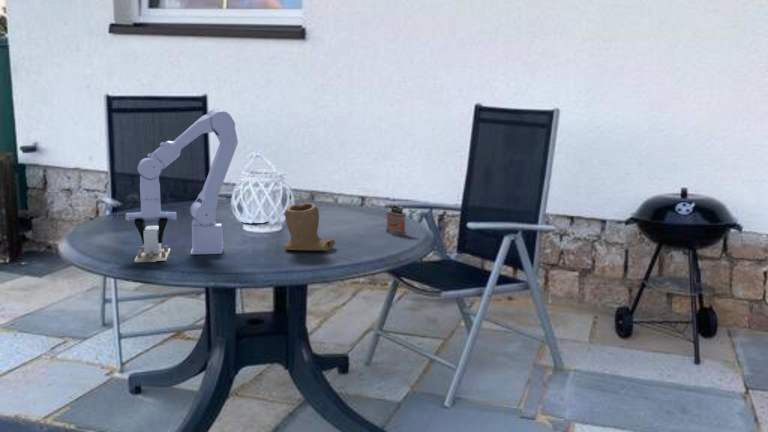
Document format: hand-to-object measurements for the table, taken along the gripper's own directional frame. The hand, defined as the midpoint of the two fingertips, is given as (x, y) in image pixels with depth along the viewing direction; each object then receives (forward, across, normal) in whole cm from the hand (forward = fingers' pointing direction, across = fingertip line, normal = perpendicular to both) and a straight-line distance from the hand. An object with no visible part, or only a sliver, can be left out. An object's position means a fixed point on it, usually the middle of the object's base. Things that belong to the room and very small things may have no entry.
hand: (152, 242), depth 239 cm
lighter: (+4, -79, -24) cm, 83 cm away
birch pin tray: (+4, 0, 0) cm, 4 cm away
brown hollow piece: (+4, -47, -2) cm, 47 cm away
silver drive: (+3, 0, 0) cm, 3 cm away
